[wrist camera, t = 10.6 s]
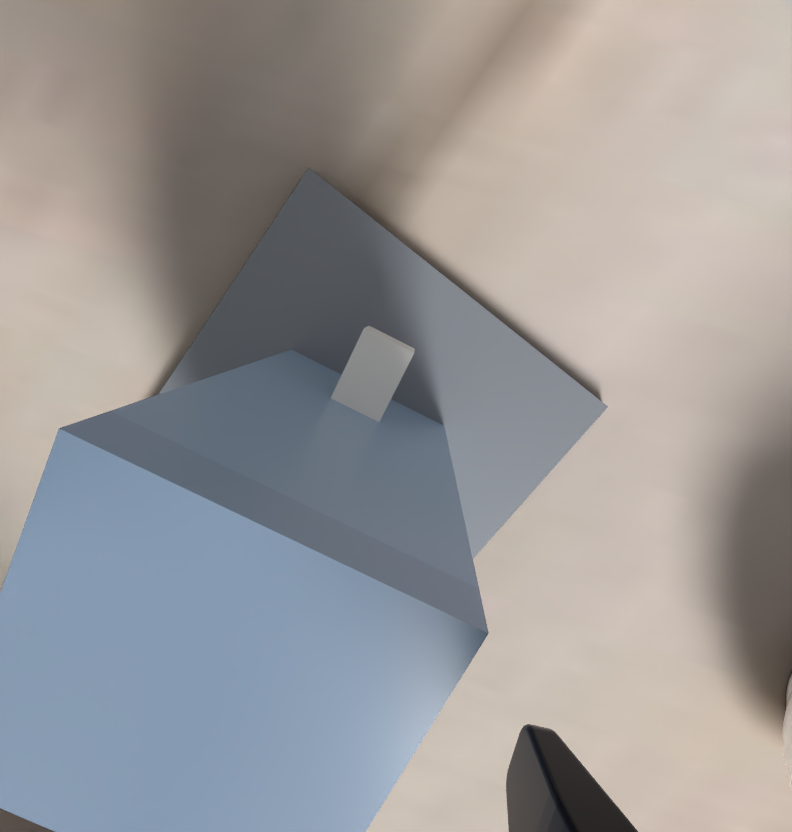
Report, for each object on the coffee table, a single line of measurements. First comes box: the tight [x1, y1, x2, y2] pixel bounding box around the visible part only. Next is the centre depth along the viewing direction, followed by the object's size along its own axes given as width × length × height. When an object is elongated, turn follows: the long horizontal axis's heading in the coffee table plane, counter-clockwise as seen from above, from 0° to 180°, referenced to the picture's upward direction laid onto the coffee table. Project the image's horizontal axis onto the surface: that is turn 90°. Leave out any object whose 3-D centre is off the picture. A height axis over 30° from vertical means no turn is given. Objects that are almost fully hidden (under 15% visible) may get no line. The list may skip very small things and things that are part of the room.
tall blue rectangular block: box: [0, 326, 488, 832], centre depth 12 cm, size 8×6×11 cm
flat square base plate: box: [158, 168, 608, 558], centre depth 16 cm, size 14×12×4 cm
